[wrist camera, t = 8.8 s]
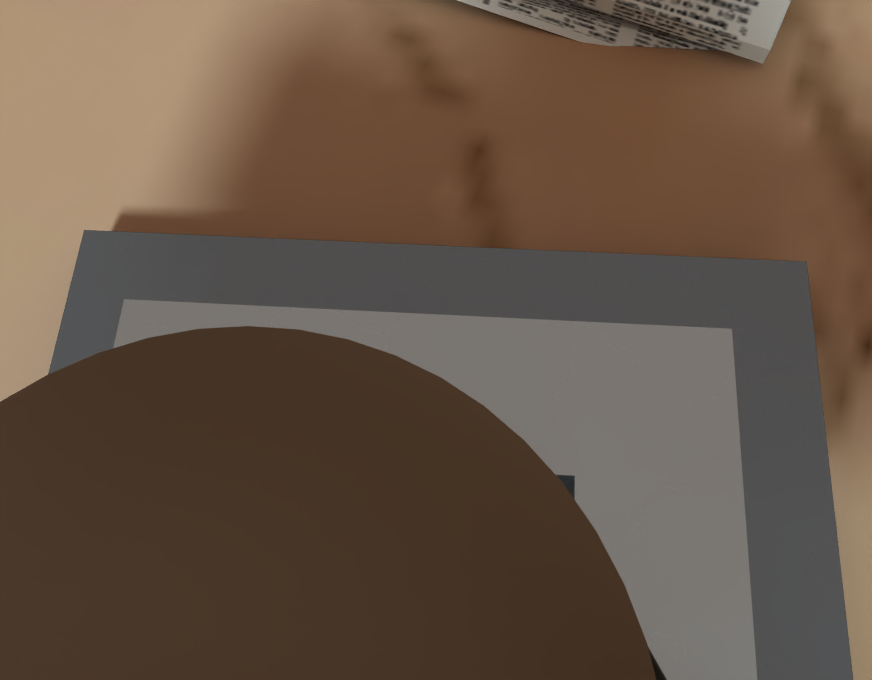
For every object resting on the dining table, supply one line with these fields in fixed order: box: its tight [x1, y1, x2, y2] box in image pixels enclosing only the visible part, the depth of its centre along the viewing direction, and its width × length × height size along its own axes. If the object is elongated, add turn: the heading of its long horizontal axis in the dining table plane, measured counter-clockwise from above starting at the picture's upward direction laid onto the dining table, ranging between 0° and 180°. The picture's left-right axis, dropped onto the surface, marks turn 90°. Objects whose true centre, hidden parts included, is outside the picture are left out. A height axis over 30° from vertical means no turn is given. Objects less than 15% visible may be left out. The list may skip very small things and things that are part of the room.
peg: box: [0, 326, 656, 680], centre depth 9 cm, size 4×4×12 cm
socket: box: [48, 230, 853, 680], centre depth 14 cm, size 18×18×4 cm
